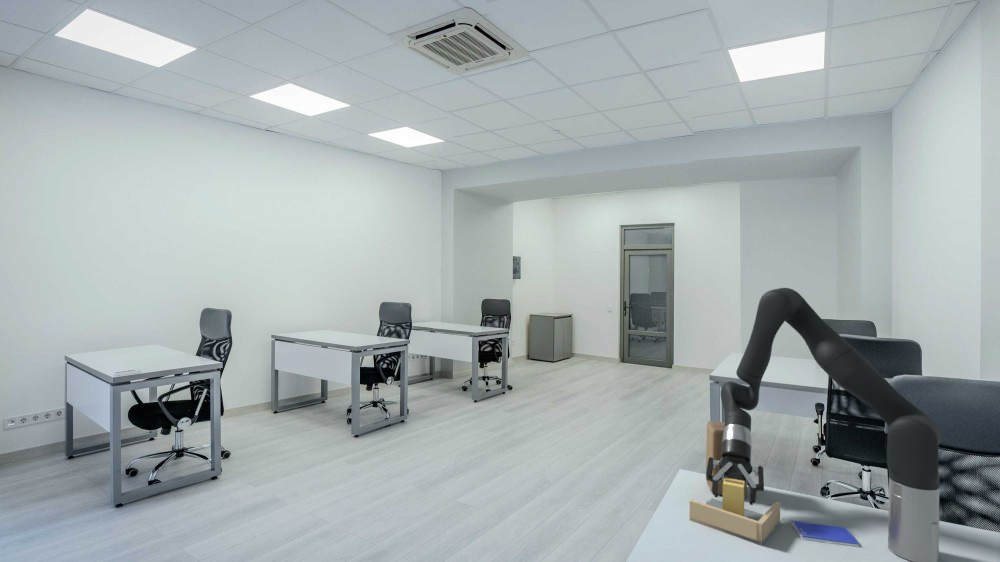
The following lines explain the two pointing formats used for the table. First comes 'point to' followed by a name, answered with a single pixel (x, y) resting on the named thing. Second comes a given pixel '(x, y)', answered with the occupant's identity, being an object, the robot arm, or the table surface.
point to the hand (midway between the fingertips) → (733, 499)
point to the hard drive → (824, 533)
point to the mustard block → (733, 496)
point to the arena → (736, 520)
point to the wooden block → (716, 450)
